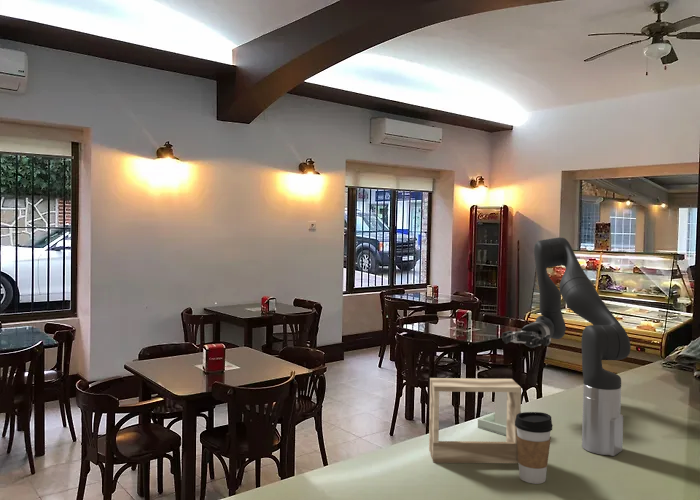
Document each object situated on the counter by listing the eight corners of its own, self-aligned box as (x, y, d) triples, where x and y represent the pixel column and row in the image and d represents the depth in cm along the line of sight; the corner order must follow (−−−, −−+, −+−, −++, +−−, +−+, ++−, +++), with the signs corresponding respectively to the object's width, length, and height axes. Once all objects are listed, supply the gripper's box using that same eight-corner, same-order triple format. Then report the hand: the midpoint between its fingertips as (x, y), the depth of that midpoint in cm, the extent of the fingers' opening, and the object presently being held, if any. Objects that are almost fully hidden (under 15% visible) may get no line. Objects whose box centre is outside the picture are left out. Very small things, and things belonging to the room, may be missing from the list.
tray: (533, 428, 167) (533, 419, 167) (513, 438, 159) (513, 429, 159) (498, 418, 176) (498, 410, 176) (477, 427, 167) (477, 419, 167)
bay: (429, 449, 150) (429, 378, 150) (510, 450, 150) (511, 378, 149) (433, 462, 142) (434, 386, 141) (519, 463, 142) (521, 387, 141)
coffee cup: (554, 487, 129) (555, 422, 128) (515, 484, 130) (516, 419, 130) (548, 472, 137) (550, 411, 136) (512, 469, 138) (513, 408, 138)
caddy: (500, 421, 171) (501, 380, 171) (516, 425, 168) (517, 383, 168) (494, 426, 167) (495, 384, 166) (511, 429, 164) (512, 386, 164)
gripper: (514, 320, 192) (496, 327, 179) (557, 325, 184) (542, 332, 171) (514, 342, 192) (496, 350, 179) (557, 348, 184) (542, 356, 171)
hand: (519, 341), depth 175 cm, fingers open, 8 cm apart
